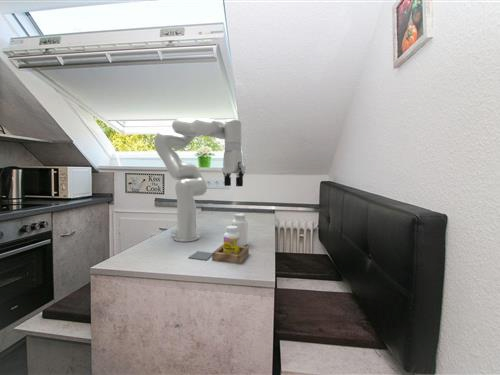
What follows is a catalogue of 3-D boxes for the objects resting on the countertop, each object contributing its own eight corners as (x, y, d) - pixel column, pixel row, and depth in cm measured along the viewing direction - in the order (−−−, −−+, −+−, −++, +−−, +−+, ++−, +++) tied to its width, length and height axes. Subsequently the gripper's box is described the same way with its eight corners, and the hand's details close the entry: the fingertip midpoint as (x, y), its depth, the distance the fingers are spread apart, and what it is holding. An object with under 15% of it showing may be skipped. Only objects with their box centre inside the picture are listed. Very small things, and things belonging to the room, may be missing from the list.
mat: (188, 258, 95) (188, 257, 95) (197, 252, 103) (197, 251, 103) (206, 260, 94) (206, 259, 93) (214, 254, 101) (214, 253, 101)
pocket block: (212, 260, 94) (212, 253, 94) (222, 250, 106) (223, 244, 105) (240, 263, 91) (240, 256, 91) (248, 253, 103) (248, 247, 102)
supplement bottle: (220, 258, 96) (221, 227, 96) (227, 253, 103) (227, 224, 102) (235, 260, 94) (236, 229, 93) (241, 255, 100) (242, 226, 100)
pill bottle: (240, 247, 111) (241, 216, 110) (227, 244, 115) (228, 214, 115) (250, 244, 117) (251, 214, 116) (238, 240, 122) (238, 212, 121)
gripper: (216, 149, 110) (216, 185, 111) (236, 145, 96) (237, 186, 97) (229, 150, 115) (230, 185, 115) (251, 146, 101) (251, 186, 102)
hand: (233, 186), depth 106 cm, fingers open, 9 cm apart
